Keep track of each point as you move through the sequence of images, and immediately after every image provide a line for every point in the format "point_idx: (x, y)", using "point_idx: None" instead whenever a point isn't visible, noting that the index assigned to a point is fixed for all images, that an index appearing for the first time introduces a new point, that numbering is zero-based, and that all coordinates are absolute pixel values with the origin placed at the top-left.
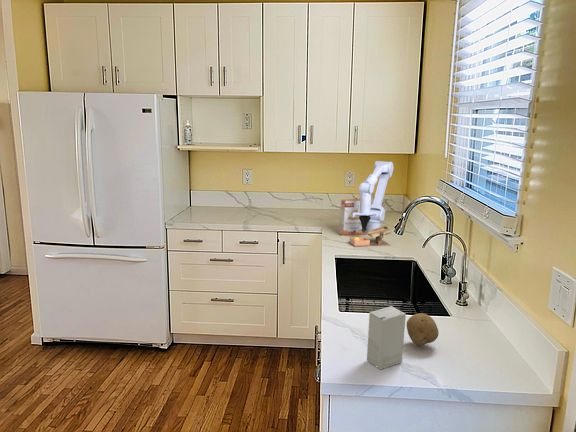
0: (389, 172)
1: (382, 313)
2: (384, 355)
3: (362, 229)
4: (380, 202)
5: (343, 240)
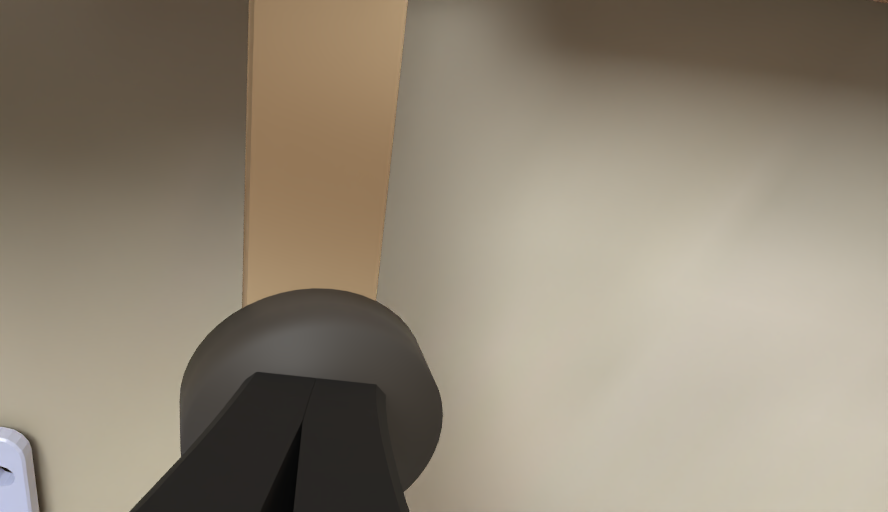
0: None
1: None
2: None
3: None
4: None
5: (836, 419)
